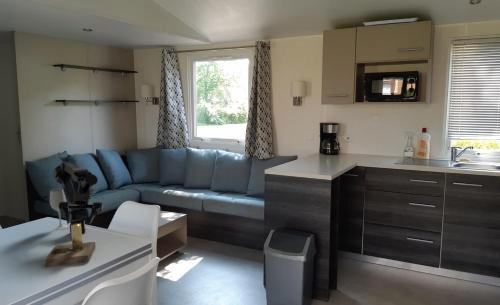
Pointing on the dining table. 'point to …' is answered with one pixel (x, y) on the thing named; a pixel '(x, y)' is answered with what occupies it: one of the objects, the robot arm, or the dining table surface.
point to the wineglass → (57, 204)
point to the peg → (76, 236)
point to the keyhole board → (69, 254)
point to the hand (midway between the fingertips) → (78, 224)
